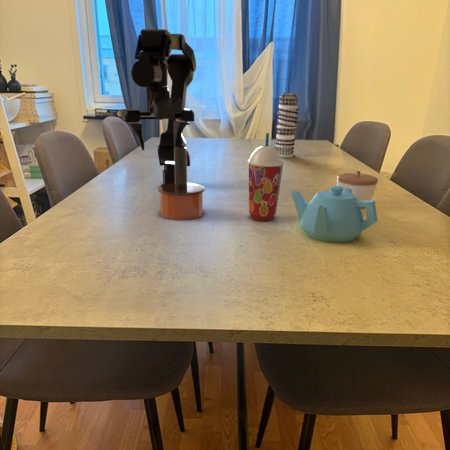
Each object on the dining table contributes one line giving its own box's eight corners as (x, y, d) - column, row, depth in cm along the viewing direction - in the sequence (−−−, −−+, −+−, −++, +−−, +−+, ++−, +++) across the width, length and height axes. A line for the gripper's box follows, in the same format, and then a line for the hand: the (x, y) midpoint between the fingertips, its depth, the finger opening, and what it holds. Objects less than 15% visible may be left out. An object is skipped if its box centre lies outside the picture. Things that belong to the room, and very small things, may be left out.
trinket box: (346, 198, 128) (351, 165, 124) (379, 205, 121) (386, 171, 117) (326, 204, 121) (330, 170, 117) (360, 212, 115) (366, 177, 110)
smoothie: (281, 215, 111) (289, 132, 102) (274, 224, 104) (281, 136, 95) (250, 211, 114) (255, 130, 104) (241, 220, 107) (245, 134, 97)
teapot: (311, 247, 91) (318, 197, 86) (286, 225, 104) (291, 179, 99) (376, 243, 94) (386, 194, 89) (344, 222, 107) (351, 178, 102)
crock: (194, 206, 117) (193, 183, 114) (208, 217, 108) (208, 193, 105) (155, 209, 113) (154, 186, 110) (167, 221, 104) (166, 196, 101)
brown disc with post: (181, 184, 115) (181, 142, 110) (213, 192, 108) (214, 148, 103) (148, 192, 107) (145, 147, 102) (180, 201, 101) (179, 153, 96)
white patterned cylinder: (295, 157, 188) (302, 94, 176) (274, 156, 188) (279, 93, 176) (293, 154, 196) (298, 93, 184) (272, 153, 196) (277, 92, 184)
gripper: (127, 87, 102) (132, 155, 109) (201, 88, 108) (201, 152, 116) (118, 85, 110) (123, 149, 118) (187, 86, 117) (187, 146, 125)
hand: (159, 149), depth 119 cm, fingers open, 9 cm apart
